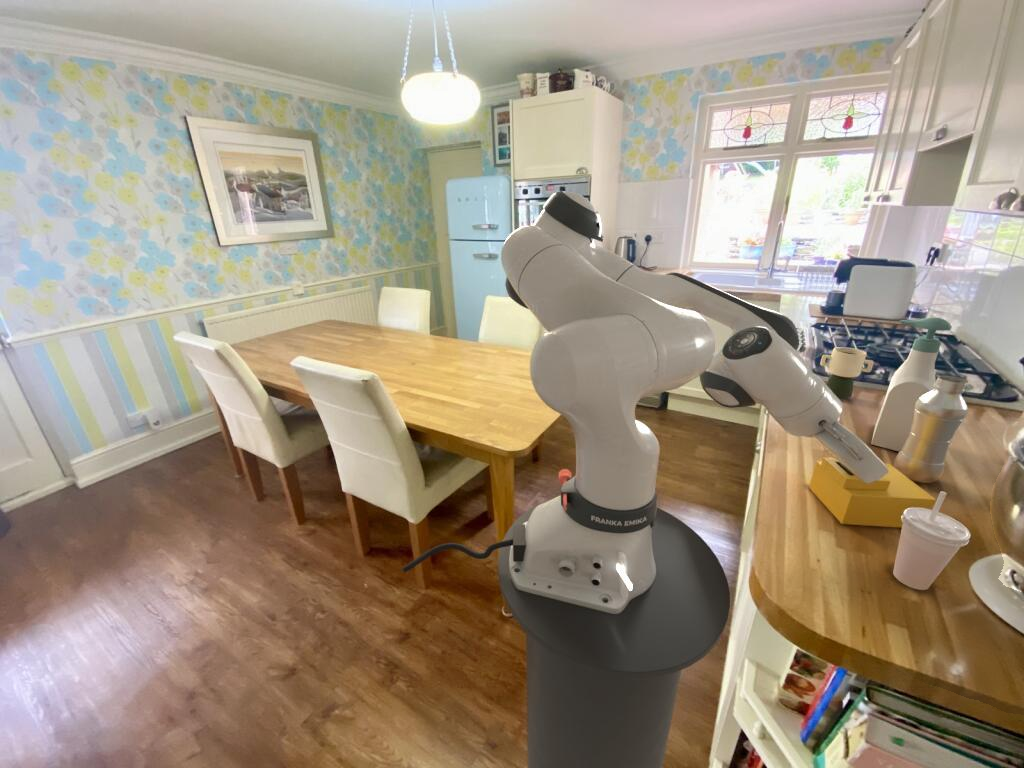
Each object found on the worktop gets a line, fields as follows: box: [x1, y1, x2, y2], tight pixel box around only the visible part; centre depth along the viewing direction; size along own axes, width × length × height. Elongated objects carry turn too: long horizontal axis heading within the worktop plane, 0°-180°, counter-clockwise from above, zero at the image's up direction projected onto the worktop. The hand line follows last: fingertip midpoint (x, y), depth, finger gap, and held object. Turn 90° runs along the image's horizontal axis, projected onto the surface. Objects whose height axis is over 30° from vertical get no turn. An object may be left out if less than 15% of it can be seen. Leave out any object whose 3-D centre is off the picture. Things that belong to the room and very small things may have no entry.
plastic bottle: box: [893, 375, 969, 484], centre depth 75 cm, size 6×7×20 cm
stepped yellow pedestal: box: [808, 457, 937, 529], centre depth 70 cm, size 12×10×8 cm
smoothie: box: [892, 490, 971, 591], centre depth 55 cm, size 6×6×14 cm
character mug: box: [819, 346, 875, 400], centre depth 111 cm, size 11×7×13 cm, turn 57°
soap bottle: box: [870, 316, 953, 453], centre depth 87 cm, size 11×8×27 cm
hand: (855, 463), depth 69 cm, fingers closed, pressing on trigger
